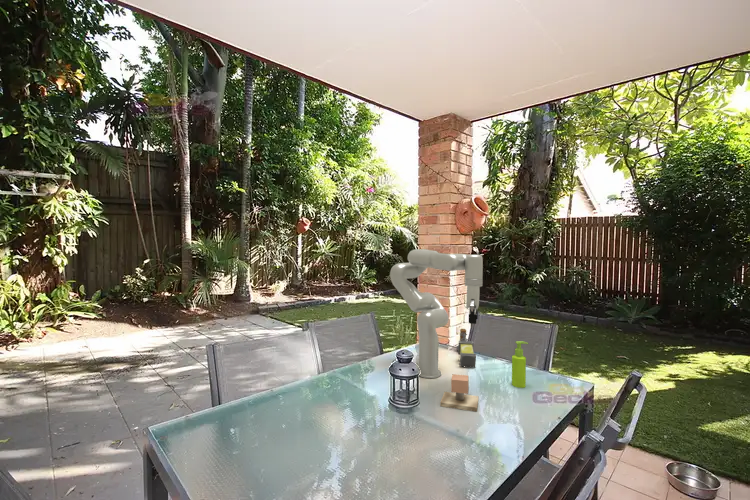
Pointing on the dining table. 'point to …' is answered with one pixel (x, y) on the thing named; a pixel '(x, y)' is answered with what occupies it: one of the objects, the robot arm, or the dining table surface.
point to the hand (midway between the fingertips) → (473, 321)
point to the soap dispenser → (519, 366)
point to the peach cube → (459, 383)
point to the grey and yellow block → (466, 350)
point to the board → (459, 401)
